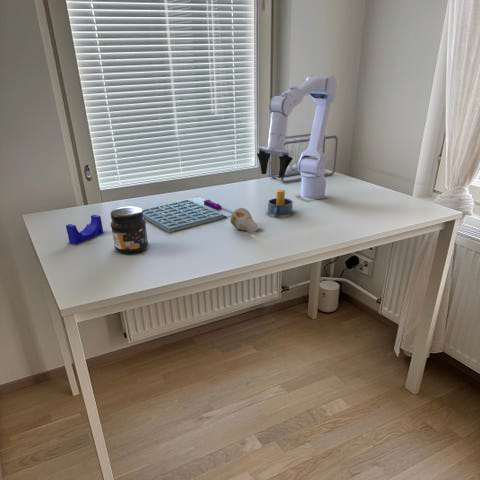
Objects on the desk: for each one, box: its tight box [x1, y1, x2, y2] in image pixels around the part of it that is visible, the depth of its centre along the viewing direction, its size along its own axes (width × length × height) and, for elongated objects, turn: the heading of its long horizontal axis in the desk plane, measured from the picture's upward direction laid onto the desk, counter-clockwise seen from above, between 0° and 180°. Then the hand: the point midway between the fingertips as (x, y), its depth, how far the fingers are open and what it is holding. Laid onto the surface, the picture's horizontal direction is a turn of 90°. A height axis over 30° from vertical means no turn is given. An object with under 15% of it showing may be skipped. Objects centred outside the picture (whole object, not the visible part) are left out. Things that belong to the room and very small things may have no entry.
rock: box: [230, 207, 260, 234], centre depth 155 cm, size 8×10×10 cm
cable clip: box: [65, 214, 104, 246], centre depth 152 cm, size 12×4×6 cm, turn 148°
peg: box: [275, 189, 286, 205], centre depth 168 cm, size 3×3×8 cm
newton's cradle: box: [269, 133, 339, 184], centre depth 210 cm, size 30×10×18 cm, turn 118°
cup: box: [267, 197, 294, 218], centre depth 169 cm, size 12×9×4 cm
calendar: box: [141, 196, 227, 233], centre depth 172 cm, size 27×29×2 cm
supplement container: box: [110, 206, 149, 255], centre depth 141 cm, size 10×10×12 cm
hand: (272, 175), depth 163 cm, fingers open, 7 cm apart
